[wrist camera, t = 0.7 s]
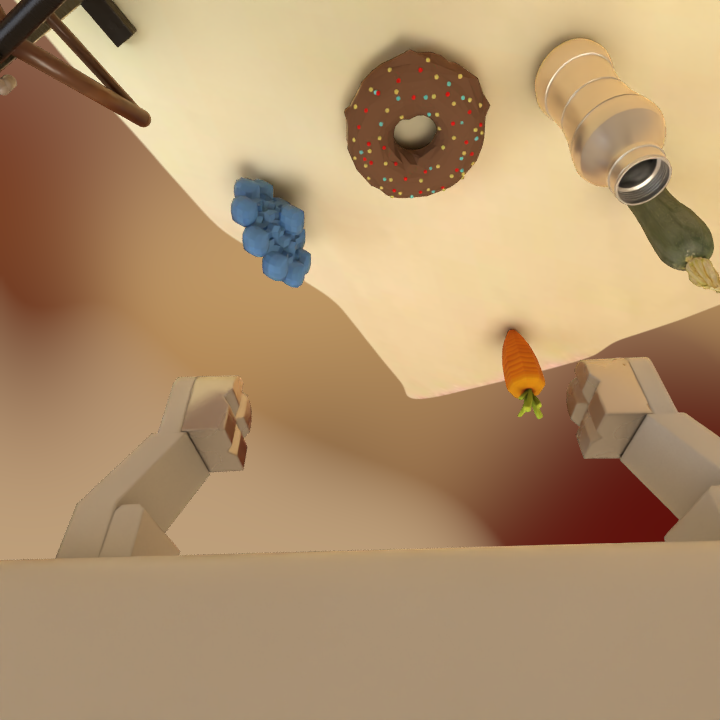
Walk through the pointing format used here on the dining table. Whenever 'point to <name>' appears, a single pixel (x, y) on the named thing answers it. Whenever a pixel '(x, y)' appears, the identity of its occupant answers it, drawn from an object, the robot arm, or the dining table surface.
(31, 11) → the rail
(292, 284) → the grapes
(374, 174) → the donut
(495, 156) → the dining table surface
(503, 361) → the carrot
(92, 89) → the hanger
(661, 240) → the vegetable
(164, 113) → the dining table surface
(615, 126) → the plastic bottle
